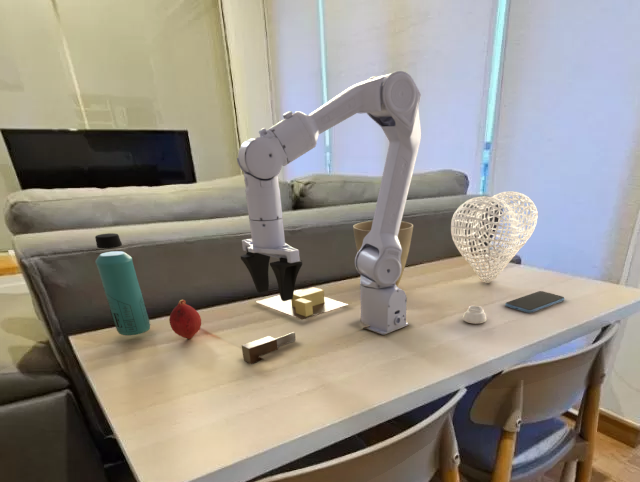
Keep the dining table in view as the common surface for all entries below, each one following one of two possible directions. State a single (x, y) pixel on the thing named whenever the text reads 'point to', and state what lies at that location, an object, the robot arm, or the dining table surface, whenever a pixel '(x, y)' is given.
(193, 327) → the onion
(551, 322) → the dining table surface
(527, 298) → the smartphone
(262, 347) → the knife
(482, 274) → the heart
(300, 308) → the butter slice
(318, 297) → the butter block
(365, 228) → the plant pot
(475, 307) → the white jar
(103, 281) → the beverage bottle
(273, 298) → the board
